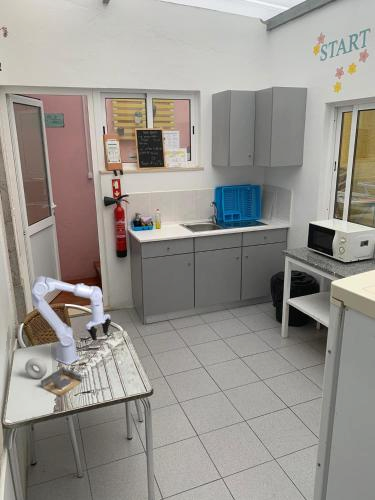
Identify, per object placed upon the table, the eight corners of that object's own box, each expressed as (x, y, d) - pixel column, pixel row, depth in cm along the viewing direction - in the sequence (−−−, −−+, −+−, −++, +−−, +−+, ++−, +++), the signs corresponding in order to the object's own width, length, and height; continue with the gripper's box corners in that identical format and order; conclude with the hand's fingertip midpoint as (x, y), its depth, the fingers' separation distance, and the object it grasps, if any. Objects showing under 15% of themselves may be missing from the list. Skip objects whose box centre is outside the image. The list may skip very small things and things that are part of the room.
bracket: (59, 390, 164) (58, 377, 162) (53, 387, 166) (52, 375, 164) (70, 382, 169) (69, 370, 167) (64, 380, 171) (63, 368, 169)
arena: (41, 387, 167) (40, 380, 166) (64, 374, 176) (63, 367, 176) (60, 396, 160) (59, 389, 160) (82, 382, 170) (81, 374, 169)
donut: (25, 379, 173) (22, 359, 171) (29, 375, 176) (26, 355, 174) (45, 381, 172) (43, 361, 169) (49, 376, 175) (46, 357, 172)
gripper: (92, 319, 179) (94, 345, 183) (113, 307, 191) (116, 332, 194) (81, 315, 183) (84, 341, 186) (103, 305, 194) (105, 329, 198)
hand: (99, 336), depth 191 cm, fingers open, 7 cm apart
